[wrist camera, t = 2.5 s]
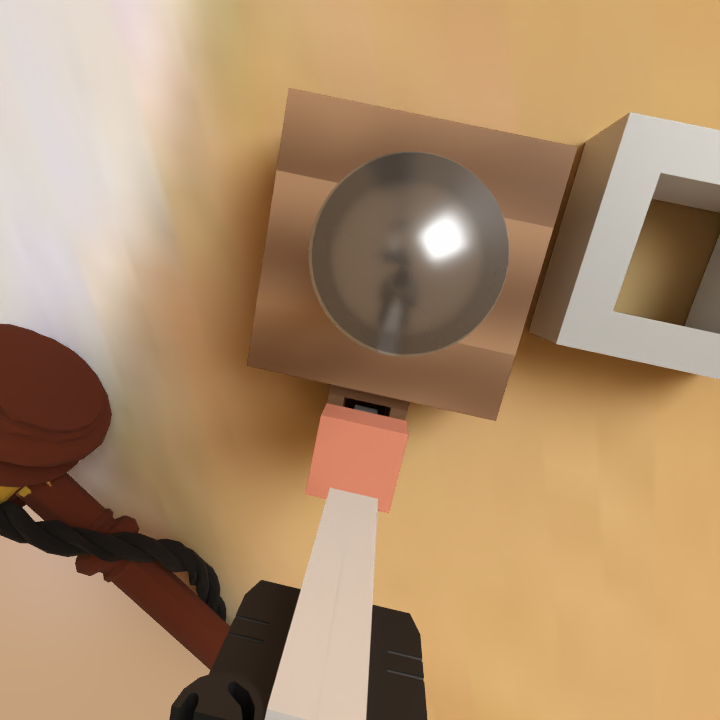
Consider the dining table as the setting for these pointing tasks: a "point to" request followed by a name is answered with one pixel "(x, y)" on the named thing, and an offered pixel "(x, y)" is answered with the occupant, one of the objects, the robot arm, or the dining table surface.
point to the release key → (357, 453)
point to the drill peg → (409, 254)
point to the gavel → (76, 506)
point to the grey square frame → (632, 245)
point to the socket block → (292, 239)
